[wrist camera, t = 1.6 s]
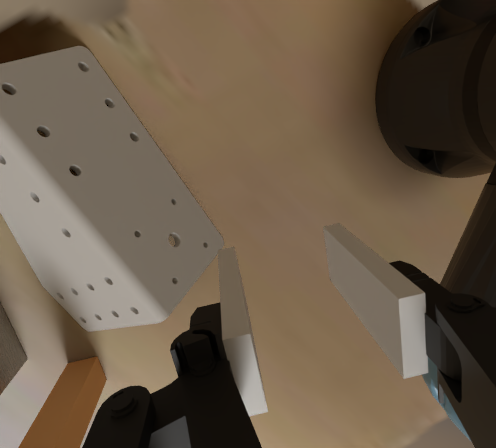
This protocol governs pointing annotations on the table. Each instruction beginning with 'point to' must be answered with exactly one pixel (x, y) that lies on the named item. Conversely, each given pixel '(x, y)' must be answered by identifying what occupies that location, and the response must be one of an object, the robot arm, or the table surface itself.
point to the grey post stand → (9, 352)
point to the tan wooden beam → (68, 407)
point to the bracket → (95, 195)
